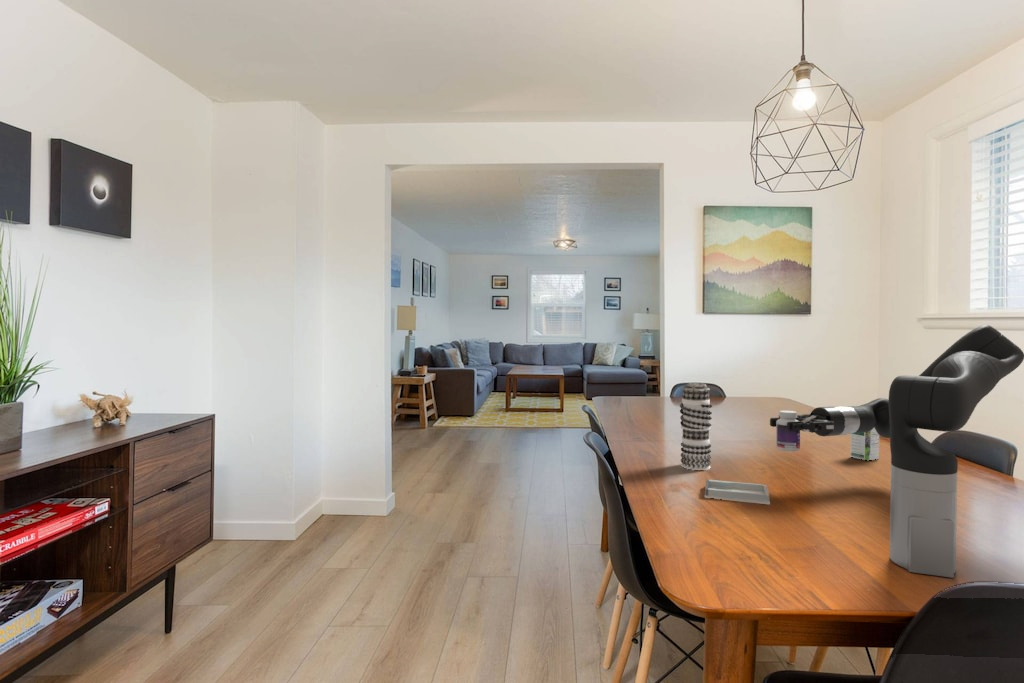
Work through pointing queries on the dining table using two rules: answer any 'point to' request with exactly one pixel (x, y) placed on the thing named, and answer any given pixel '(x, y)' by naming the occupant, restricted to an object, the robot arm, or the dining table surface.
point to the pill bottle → (787, 432)
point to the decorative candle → (695, 427)
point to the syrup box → (865, 445)
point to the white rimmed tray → (737, 491)
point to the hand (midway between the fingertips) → (779, 424)
